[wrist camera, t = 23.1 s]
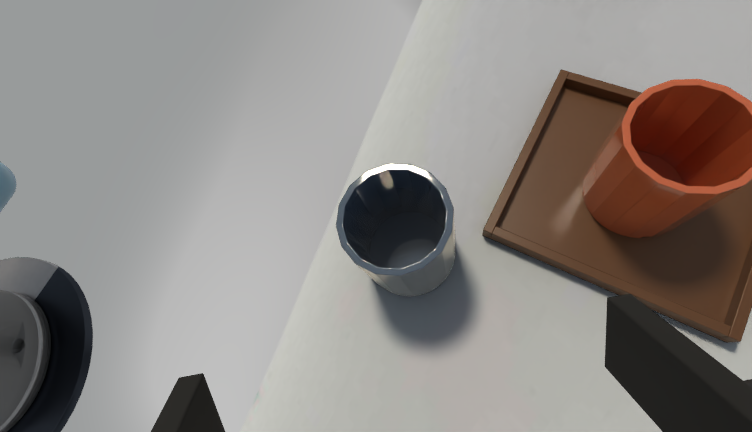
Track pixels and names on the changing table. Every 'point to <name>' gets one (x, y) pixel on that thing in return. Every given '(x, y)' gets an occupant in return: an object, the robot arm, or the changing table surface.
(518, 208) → the tray
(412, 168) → the slate cup
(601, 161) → the terracotta cup
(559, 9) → the changing table surface
